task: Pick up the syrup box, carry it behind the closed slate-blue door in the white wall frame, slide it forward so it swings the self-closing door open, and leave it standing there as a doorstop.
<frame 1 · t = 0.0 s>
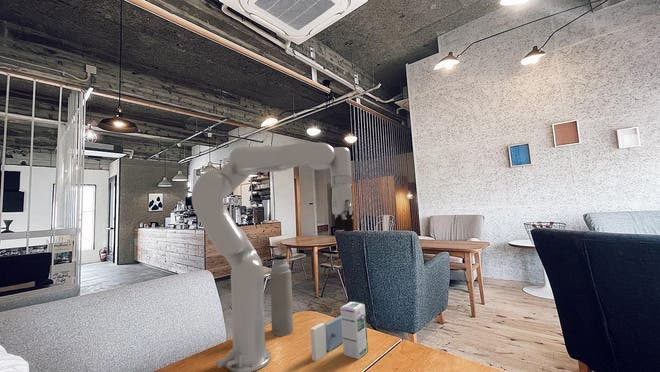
hand: (344, 230, 96), 37 cm above the table, tool pointing down, fingers open, 9 cm apart
syrup box: (355, 353, 85), on the table
thermos bottle: (282, 332, 103), on the table
door: (340, 329, 92), point 5 cm above the table, hinge at 0.0°
wall: (336, 345, 90), on the table
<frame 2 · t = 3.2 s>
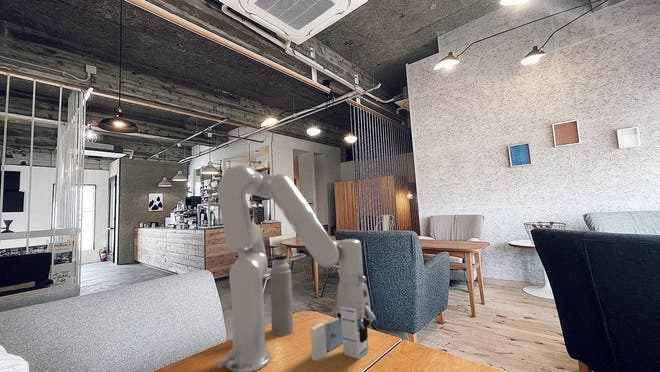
hand: (354, 337, 85), 5 cm above the table, tool pointing down, fingers closed on syrup box, 5 cm apart
syrup box: (355, 353, 85), on the table, touching gripper
everything else where it was.
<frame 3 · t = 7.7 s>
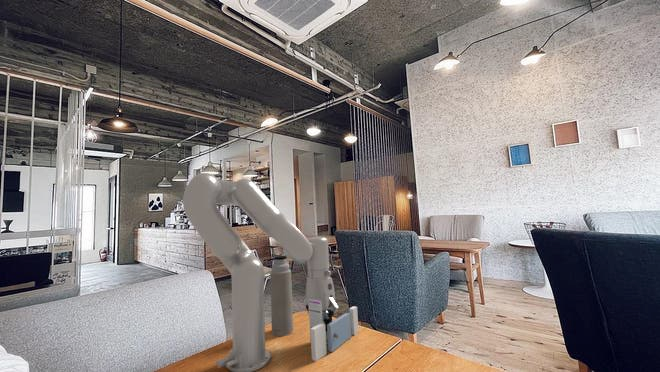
hand: (321, 327, 93), 5 cm above the table, tool pointing down, fingers closed on syrup box, 5 cm apart
syrup box: (321, 341, 92), on the table, touching gripper
door: (341, 329, 91), point 5 cm above the table, hinge at 4.6°, touching gripper
everything else where it was.
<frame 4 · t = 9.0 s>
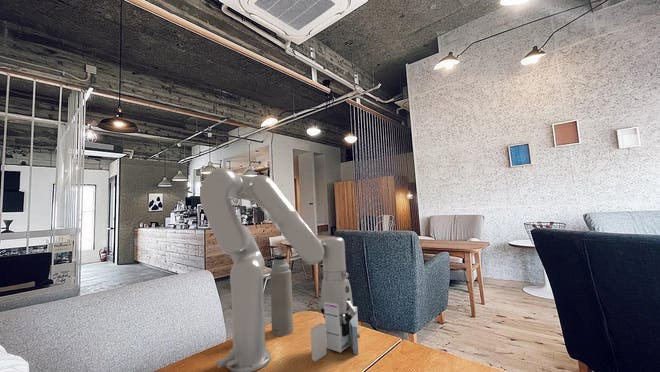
hand: (337, 332, 88), 5 cm above the table, tool pointing down, fingers closed on syrup box, 5 cm apart
syrup box: (338, 347, 88), on the table, touching gripper
door: (353, 329, 91), point 5 cm above the table, hinge at 43.2°, touching gripper
everything else where it was.
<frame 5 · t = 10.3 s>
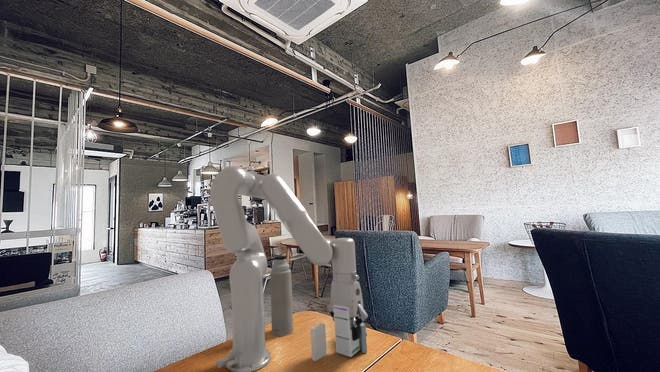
hand: (347, 335, 85), 5 cm above the table, tool pointing down, fingers closed on syrup box, 5 cm apart
syrup box: (348, 351, 85), on the table, touching gripper
door: (357, 329, 91), point 5 cm above the table, hinge at 56.1°
everything else where it was.
when the fingers open (5 cm above the table, at t = 12.5 s): syrup box stays where it is, on the table.
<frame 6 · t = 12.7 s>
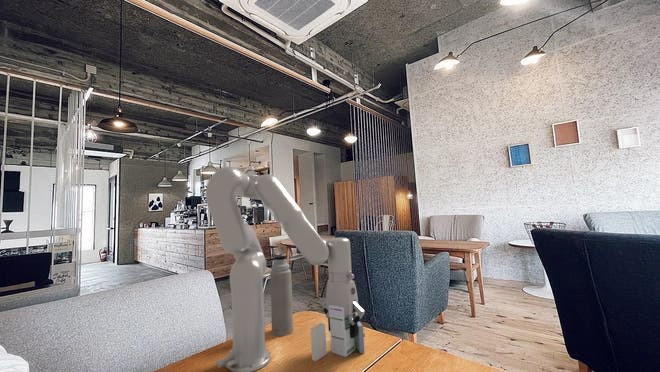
hand: (342, 332, 87), 6 cm above the table, tool pointing down, fingers open, 8 cm apart
syrup box: (343, 351, 86), on the table
door: (356, 329, 91), point 5 cm above the table, hinge at 52.3°, touching gripper
everything else where it was.
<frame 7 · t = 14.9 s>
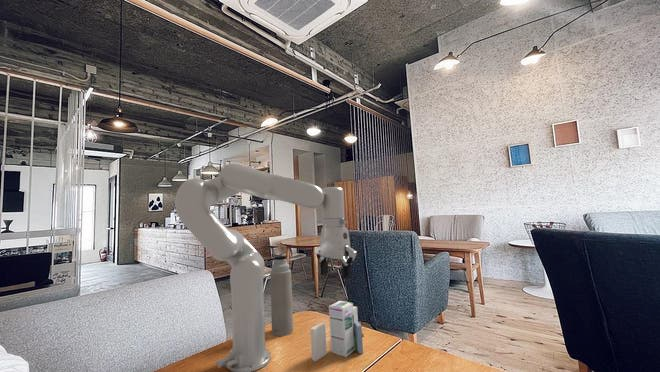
hand: (335, 275, 90), 23 cm above the table, tool pointing down, fingers open, 9 cm apart
syrup box: (343, 351, 86), on the table, touching door
door: (355, 329, 91), point 5 cm above the table, hinge at 50.1°, touching syrup box
everything else where it was.
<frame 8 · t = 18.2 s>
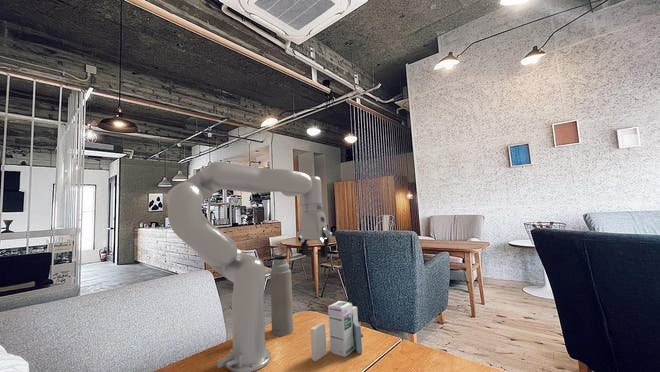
hand: (314, 255, 101), 28 cm above the table, tool pointing down, fingers open, 9 cm apart
door: (355, 329, 91), point 5 cm above the table, hinge at 48.7°, touching syrup box
everything else where it was.
at the end: door at +49° (first picture: +0°); syrup box inside the target area (1.0 cm from its centre), on the table; syrup box tilted 0° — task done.
